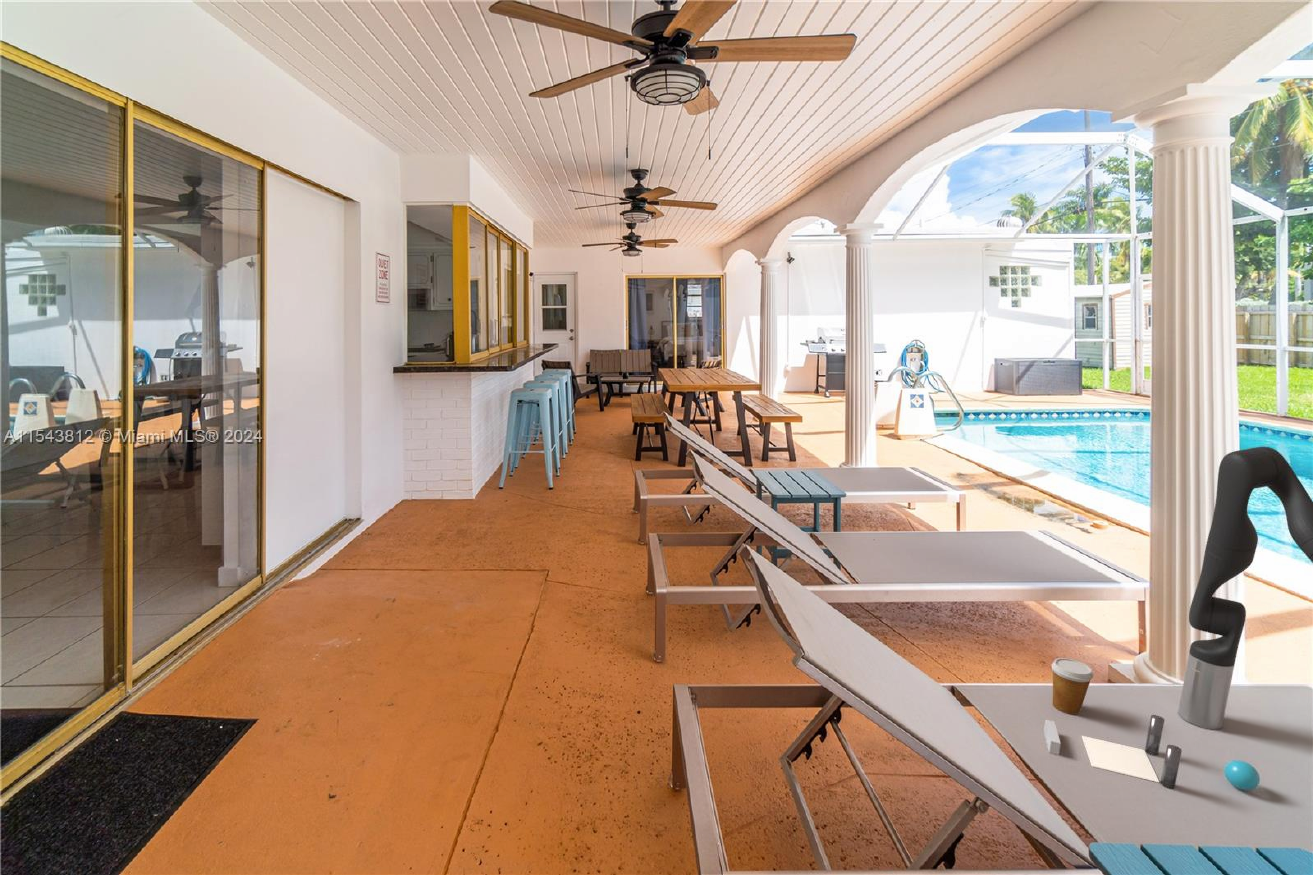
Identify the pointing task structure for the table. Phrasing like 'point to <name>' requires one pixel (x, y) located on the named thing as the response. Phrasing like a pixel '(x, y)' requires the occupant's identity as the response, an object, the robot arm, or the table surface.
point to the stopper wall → (1052, 737)
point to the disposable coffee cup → (1070, 684)
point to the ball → (1242, 775)
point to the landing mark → (1119, 759)
